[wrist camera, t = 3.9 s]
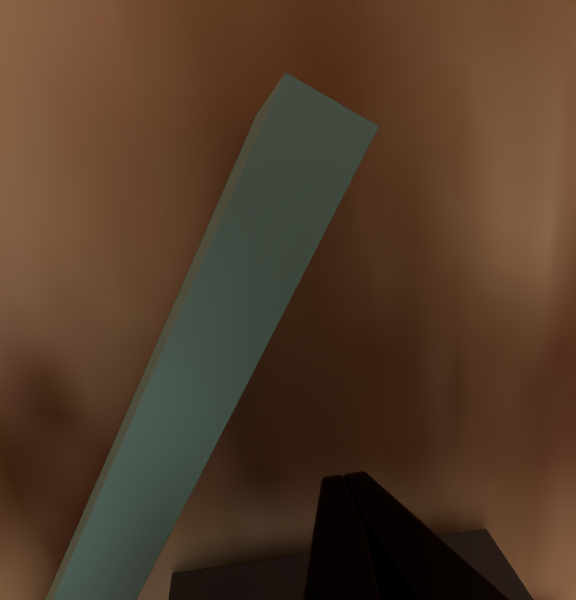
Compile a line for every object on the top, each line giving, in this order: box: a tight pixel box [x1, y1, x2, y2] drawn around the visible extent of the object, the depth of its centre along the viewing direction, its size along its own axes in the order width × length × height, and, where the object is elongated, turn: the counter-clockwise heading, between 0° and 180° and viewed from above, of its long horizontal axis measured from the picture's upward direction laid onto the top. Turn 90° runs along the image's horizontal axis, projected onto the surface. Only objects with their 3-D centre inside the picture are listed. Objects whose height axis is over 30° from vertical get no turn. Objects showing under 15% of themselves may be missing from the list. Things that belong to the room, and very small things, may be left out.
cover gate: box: [45, 73, 379, 600], centre depth 7 cm, size 1×13×4 cm, turn 153°
